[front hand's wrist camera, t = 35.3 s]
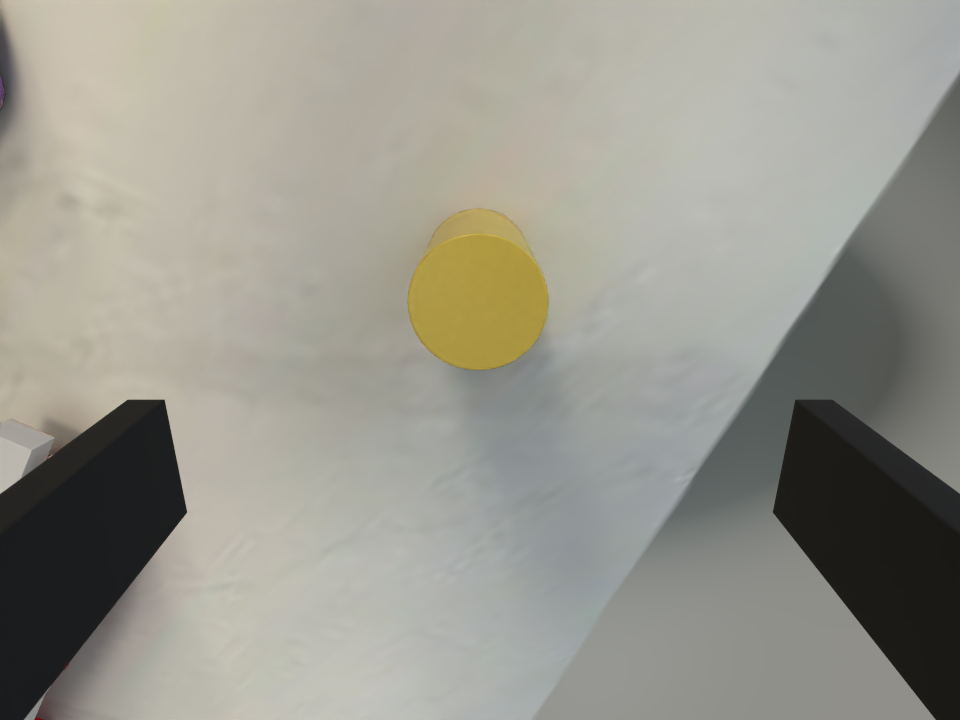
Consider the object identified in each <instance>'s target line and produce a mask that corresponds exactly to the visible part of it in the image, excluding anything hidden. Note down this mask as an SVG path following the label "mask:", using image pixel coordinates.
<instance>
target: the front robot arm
mask: <svg viewBox="0 0 960 720" xmlns="http://www.w3.org/2000/svg"><path fill="white" fill-rule="evenodd" d="M186 513H187V509H186V504H185V499H184V494H183V489H182V484H181V479H180V474H179V469H178V464H177V459H176V455H175V450H174V445H173V440H172V435H171V430H170V425H169V420H168V415H167V410H166V405H165V400H127V401H125V402H124V403H123V404H121V405H120V406H119V407H117V408H116V409H115V410H113V411H112V412H110V413H109V414H108V415H106V416H105V417H104V418H102V419H101V420H100V421H98V422H97V423H96V424H94V425H93V426H92V427H90V428H89V429H87V430H86V431H85V432H83V433H82V434H81V435H79V436H78V437H77V438H75V439H74V440H73V441H71V442H70V443H69V444H67V445H66V446H64V447H63V448H62V449H60V450H59V451H58V452H56V453H55V454H54V455H52V456H51V457H50V458H48V459H47V460H45V461H44V462H43V463H41V464H40V465H39V466H37V467H36V468H35V469H33V470H32V471H31V472H29V473H28V474H27V475H25V476H24V477H22V478H21V479H20V480H18V481H17V482H16V483H14V484H13V485H12V486H10V487H9V488H8V489H6V490H5V491H3V492H2V493H1V494H0V720H24V719H25V718H26V717H27V715H28V714H29V713H30V712H31V710H32V709H33V708H34V707H35V705H36V704H37V703H38V701H39V700H40V699H41V698H42V696H43V695H44V694H45V693H46V691H47V690H48V689H49V687H50V686H51V685H52V684H53V682H54V681H55V680H56V679H57V677H58V676H59V675H60V673H61V672H62V671H63V670H64V668H65V667H66V666H67V665H68V663H69V662H70V661H71V659H72V658H73V657H74V656H75V654H76V653H77V652H78V651H79V649H80V648H81V647H82V645H83V644H84V643H85V642H86V640H87V639H88V638H89V637H90V635H91V634H92V633H93V631H94V630H95V629H96V628H97V626H98V625H99V624H100V623H101V621H102V620H103V619H104V617H105V616H106V615H107V614H108V612H109V611H110V610H111V609H112V607H113V606H114V605H115V603H116V602H117V601H118V600H119V598H120V597H121V596H122V595H123V593H124V592H125V591H126V589H127V588H128V587H129V586H130V584H131V583H132V582H133V581H134V579H135V578H136V577H137V575H138V574H139V573H140V572H141V570H142V569H143V568H144V567H145V565H146V564H147V563H148V561H149V560H150V559H151V558H152V556H153V555H154V554H155V553H156V551H157V550H158V549H159V547H160V546H161V545H162V544H163V542H164V541H165V540H166V539H167V537H168V536H169V535H170V533H171V532H172V531H173V530H174V528H175V527H176V526H177V525H178V523H179V522H180V521H181V519H182V518H183V517H184V516H185V514H186ZM773 513H774V514H775V516H776V517H777V518H778V519H779V521H780V522H781V523H782V524H783V526H784V527H785V528H786V530H787V531H788V532H789V533H790V535H791V536H792V537H793V539H794V540H795V541H796V542H797V544H798V545H799V546H800V547H801V549H802V550H803V551H804V553H805V554H806V555H807V556H808V558H809V559H810V560H811V561H812V563H813V564H814V565H815V567H816V568H817V569H818V570H819V572H820V573H821V574H822V575H823V577H824V578H825V579H826V581H827V582H828V583H829V584H830V586H831V587H832V588H833V589H834V591H835V592H836V593H837V595H838V596H839V597H840V598H841V600H842V601H843V602H844V603H845V605H846V606H847V607H848V609H849V610H850V611H851V612H852V614H853V615H854V616H855V617H856V619H857V620H858V621H859V623H860V624H861V625H862V626H863V628H864V629H865V630H866V631H867V633H868V634H869V635H870V636H871V638H872V639H873V640H874V642H875V643H876V644H877V645H878V647H879V648H880V649H881V651H882V652H883V653H884V654H885V656H886V657H887V658H888V659H889V661H890V662H891V663H892V665H893V666H894V667H895V668H896V670H897V671H898V672H899V673H900V675H901V676H902V677H903V679H904V680H905V681H906V682H907V684H908V685H909V686H910V687H911V689H912V690H913V691H914V692H915V694H916V695H917V696H918V698H919V699H920V700H921V701H922V703H923V704H924V705H925V707H926V708H927V709H928V710H929V712H930V713H931V714H932V715H933V717H934V718H935V719H936V720H960V494H959V493H958V492H957V491H955V490H954V489H952V488H951V487H950V486H948V485H947V484H946V483H944V482H943V481H942V480H940V479H939V478H937V477H936V476H935V475H933V474H932V473H931V472H929V471H928V470H927V469H925V468H924V467H923V466H921V465H920V464H919V463H917V462H916V461H915V460H913V459H912V458H910V457H909V456H908V455H906V454H905V453H904V452H902V451H901V450H900V449H898V448H897V447H895V446H894V445H893V444H891V443H890V442H889V441H887V440H886V439H885V438H883V437H882V436H881V435H879V434H878V433H876V432H875V431H874V430H873V429H871V428H870V427H868V426H867V425H866V424H864V423H863V422H862V421H860V420H859V419H858V418H856V417H855V416H854V415H852V414H851V413H850V412H848V411H847V410H845V409H844V408H843V407H841V406H840V405H839V404H837V403H836V402H835V401H833V400H795V405H794V410H793V415H792V420H791V425H790V430H789V435H788V440H787V445H786V450H785V454H784V460H783V465H782V469H781V474H780V480H779V484H778V490H777V494H776V499H775V504H774V509H773Z"/></svg>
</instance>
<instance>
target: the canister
mask: <svg viewBox="0 0 960 720" xmlns="http://www.w3.org/2000/svg"><path fill="white" fill-rule="evenodd" d="M548 307H549V297H548V289H547V285H546V281H545V278H544V276H543V274H542V271H541V269H540V267H539V265H538V263H537V261H536V259H535V257H534V255H533V253H532V251H531V250H530V248H529V246H528V244H527V242H526V240H525V238H524V236H523V234H522V232H521V231H520V230H519V228H518V227H517V226H516V225H515V224H514V223H513V222H512V221H511V220H510V219H508V218H507V217H505V216H503V215H502V214H500V213H497V212H495V211H491V210H487V209H470V210H465V211H462V212H459V213H457V214H455V215H453V216H451V217H450V218H448V219H447V220H446V221H445V222H443V223H442V224H441V225H440V227H439V228H438V229H437V230H436V232H435V233H434V235H433V237H432V239H431V241H430V243H429V245H428V247H427V249H426V251H425V253H424V255H423V257H422V259H421V261H420V263H419V265H418V266H417V268H416V270H415V272H414V274H413V277H412V280H411V283H410V287H409V292H408V312H409V316H410V320H411V323H412V326H413V329H414V331H415V333H416V335H417V336H418V338H419V339H420V341H421V342H422V344H423V345H424V346H425V347H426V348H427V349H428V350H429V351H430V352H431V353H432V354H433V355H435V356H436V357H438V358H439V359H441V360H442V361H444V362H446V363H448V364H450V365H453V366H456V367H459V368H463V369H469V370H488V369H494V368H497V367H501V366H504V365H506V364H508V363H511V362H512V361H514V360H516V359H518V358H519V357H520V356H522V355H523V354H524V353H525V352H526V351H528V350H529V349H530V348H531V347H532V345H533V344H534V343H535V341H536V340H537V339H538V337H539V335H540V334H541V332H542V330H543V327H544V325H545V322H546V318H547V314H548Z"/></svg>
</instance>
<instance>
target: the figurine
mask: <svg viewBox="0 0 960 720" xmlns="http://www.w3.org/2000/svg"><path fill="white" fill-rule="evenodd" d="M4 97H5V91H4V87H3V82H2V78H1V76H0V109H1V108H2V106H3V99H4Z"/></svg>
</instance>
